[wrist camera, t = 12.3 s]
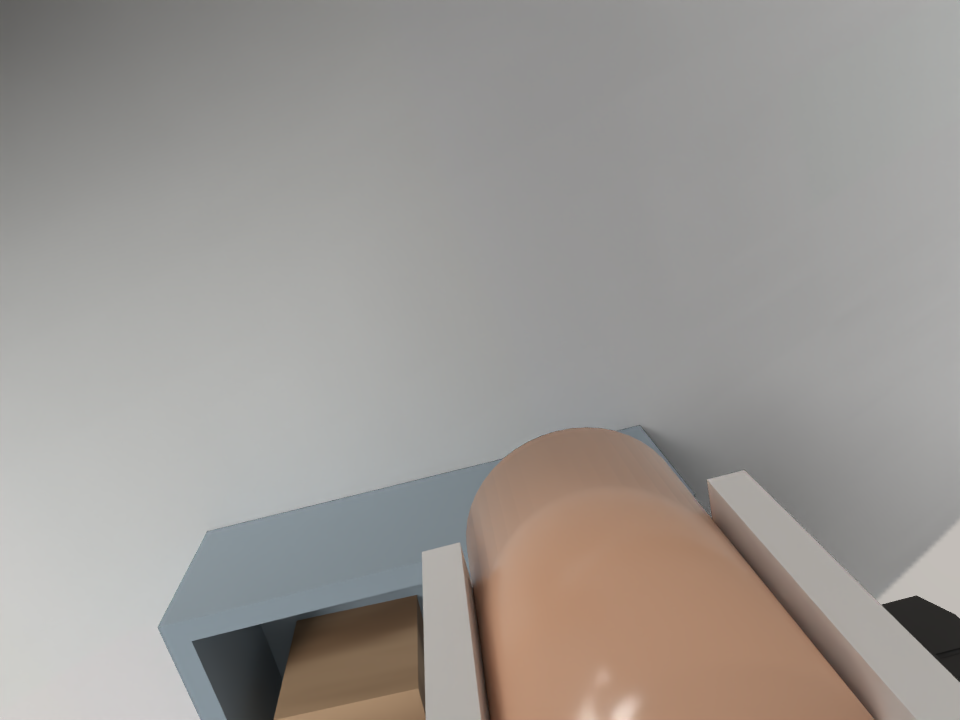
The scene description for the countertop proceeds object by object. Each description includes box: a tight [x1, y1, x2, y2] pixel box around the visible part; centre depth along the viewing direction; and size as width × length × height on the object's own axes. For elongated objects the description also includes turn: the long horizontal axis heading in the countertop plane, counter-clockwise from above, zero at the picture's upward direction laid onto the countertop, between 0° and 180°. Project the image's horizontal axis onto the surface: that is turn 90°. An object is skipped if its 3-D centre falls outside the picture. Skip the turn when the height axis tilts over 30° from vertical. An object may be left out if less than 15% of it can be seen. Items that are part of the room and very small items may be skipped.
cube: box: [274, 595, 426, 720], centre depth 26 cm, size 5×5×5 cm
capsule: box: [466, 427, 875, 720], centre depth 12 cm, size 5×5×7 cm
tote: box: [158, 425, 695, 720], centre depth 26 cm, size 14×18×6 cm
